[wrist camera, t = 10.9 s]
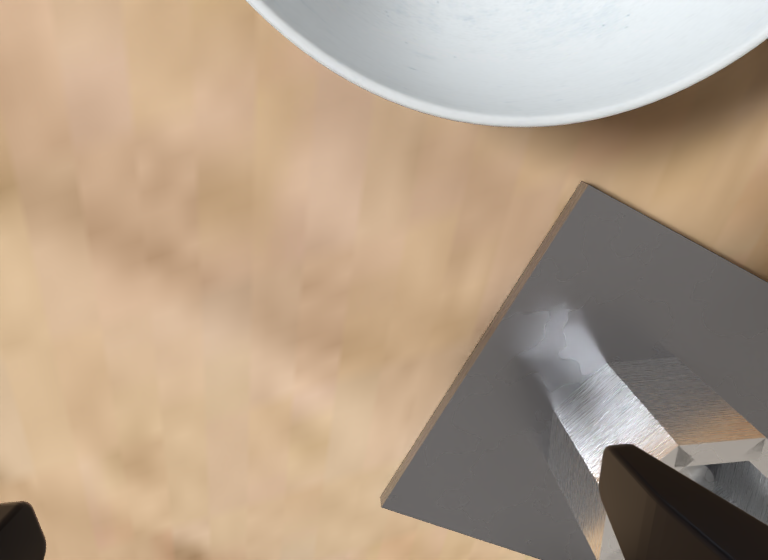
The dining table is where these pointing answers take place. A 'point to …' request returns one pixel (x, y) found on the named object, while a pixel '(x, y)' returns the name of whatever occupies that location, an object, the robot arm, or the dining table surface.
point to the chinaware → (521, 52)
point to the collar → (653, 439)
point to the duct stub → (578, 370)
